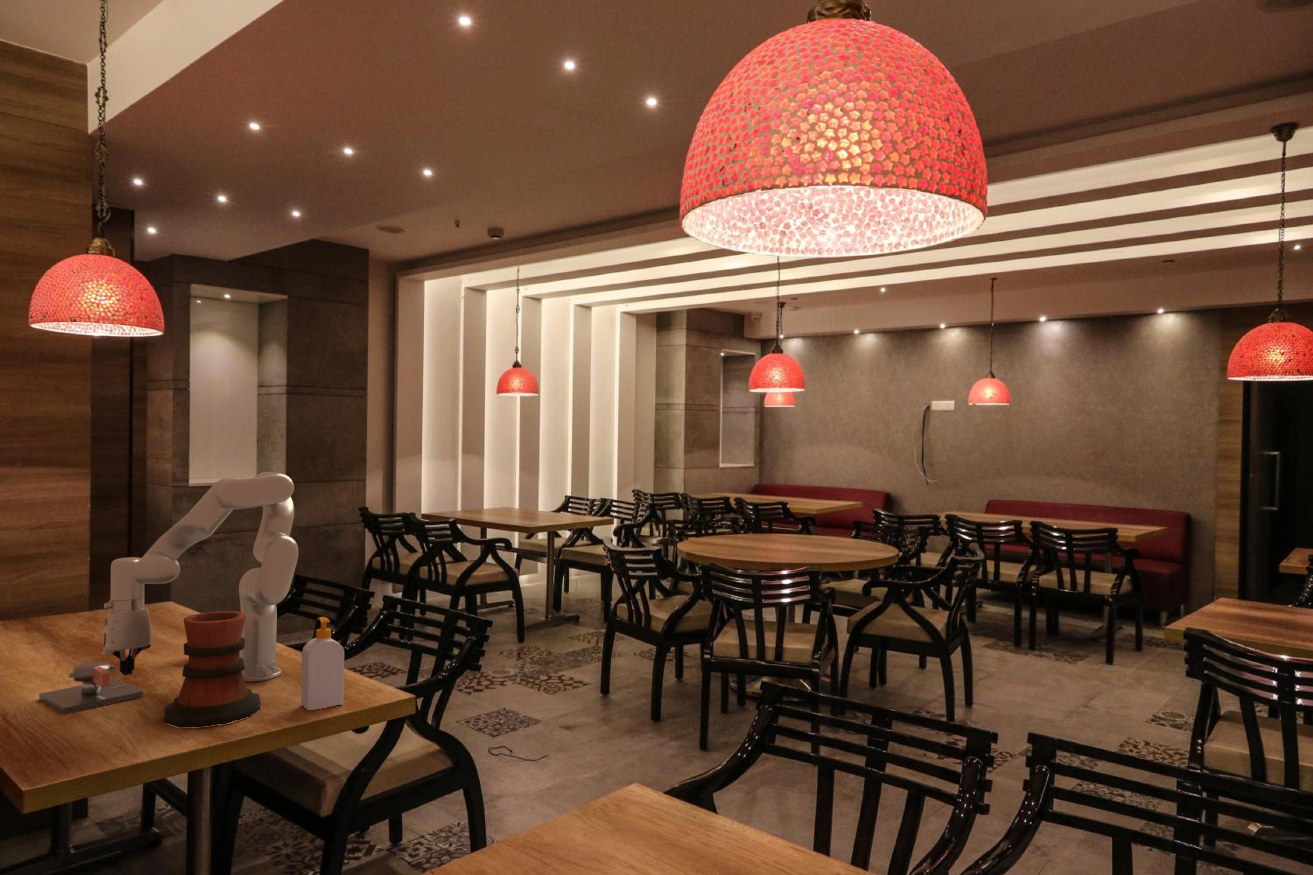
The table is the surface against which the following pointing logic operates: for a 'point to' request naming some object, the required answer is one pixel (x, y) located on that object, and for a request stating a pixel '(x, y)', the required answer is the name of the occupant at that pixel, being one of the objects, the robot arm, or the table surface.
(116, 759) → the table surface
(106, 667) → the red lever handle
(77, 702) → the post base
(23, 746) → the table surface
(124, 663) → the robot arm
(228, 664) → the red-brown flared vessel
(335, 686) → the soap bottle
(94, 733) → the table surface
